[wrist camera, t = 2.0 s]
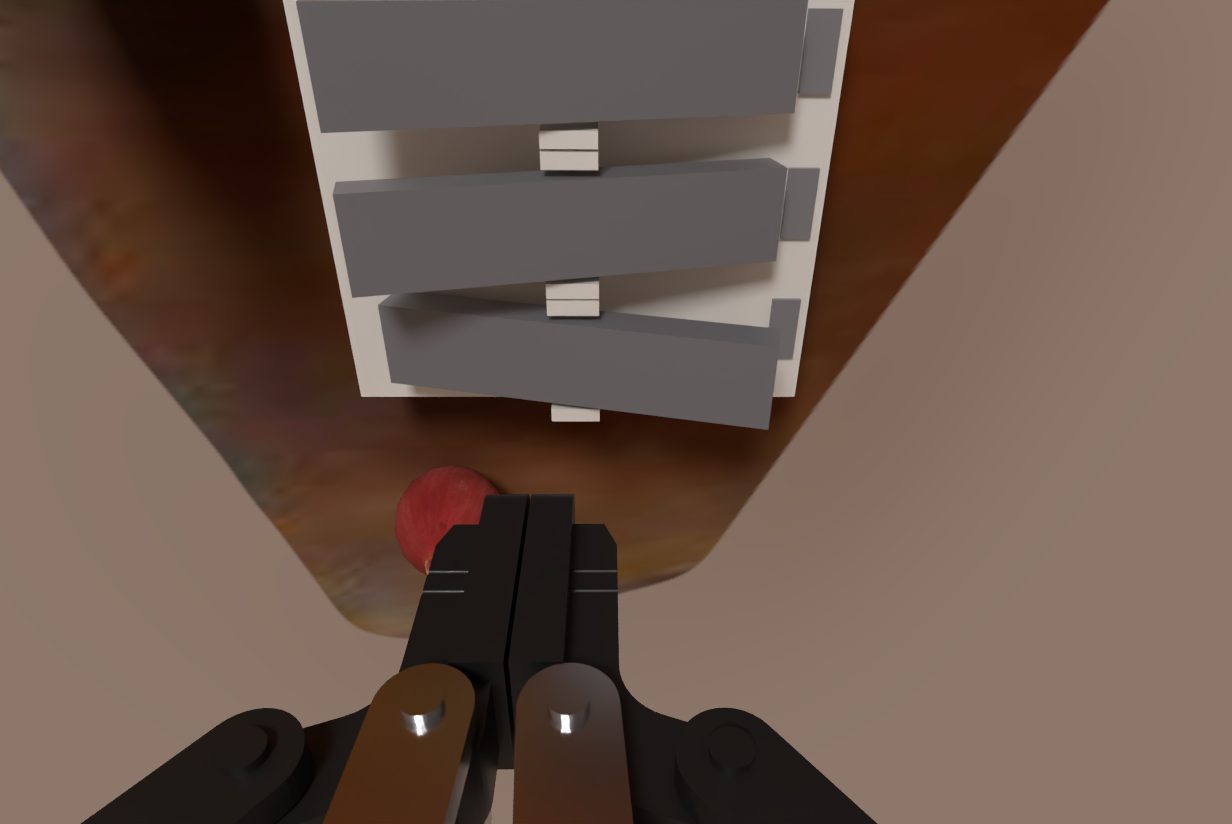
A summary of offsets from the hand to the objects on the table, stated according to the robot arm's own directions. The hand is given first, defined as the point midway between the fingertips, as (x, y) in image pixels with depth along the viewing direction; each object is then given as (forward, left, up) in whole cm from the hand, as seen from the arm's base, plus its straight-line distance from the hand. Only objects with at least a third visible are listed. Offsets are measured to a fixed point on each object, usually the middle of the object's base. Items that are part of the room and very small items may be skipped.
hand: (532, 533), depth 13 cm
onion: (+18, -7, -25) cm, 31 cm away
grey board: (+6, 0, -17) cm, 18 cm away
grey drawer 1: (-5, 0, -17) cm, 18 cm away
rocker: (0, 0, -17) cm, 17 cm away
